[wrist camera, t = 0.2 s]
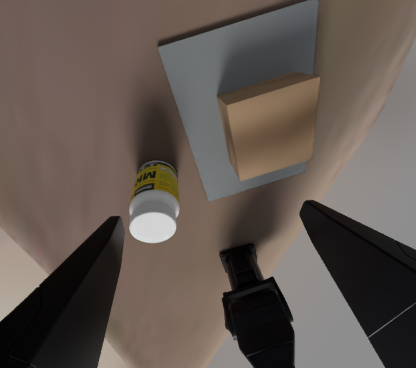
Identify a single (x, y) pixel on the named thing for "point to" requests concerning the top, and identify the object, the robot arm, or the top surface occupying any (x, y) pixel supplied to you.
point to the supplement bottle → (154, 202)
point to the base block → (270, 123)
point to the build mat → (235, 83)
